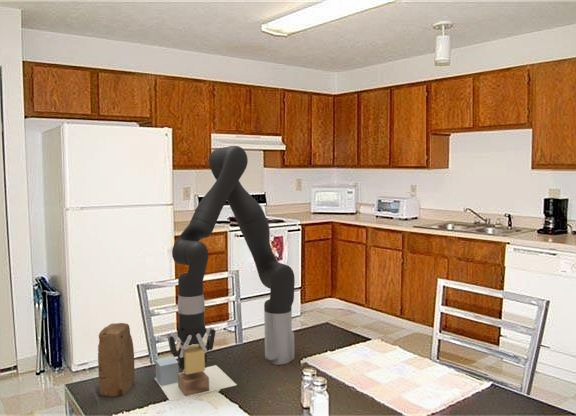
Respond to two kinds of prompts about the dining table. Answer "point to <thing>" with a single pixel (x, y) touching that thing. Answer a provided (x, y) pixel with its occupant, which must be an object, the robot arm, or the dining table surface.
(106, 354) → the block
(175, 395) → the board
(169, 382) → the brick blue
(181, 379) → the base block
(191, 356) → the brick ochre
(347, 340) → the dining table surface
